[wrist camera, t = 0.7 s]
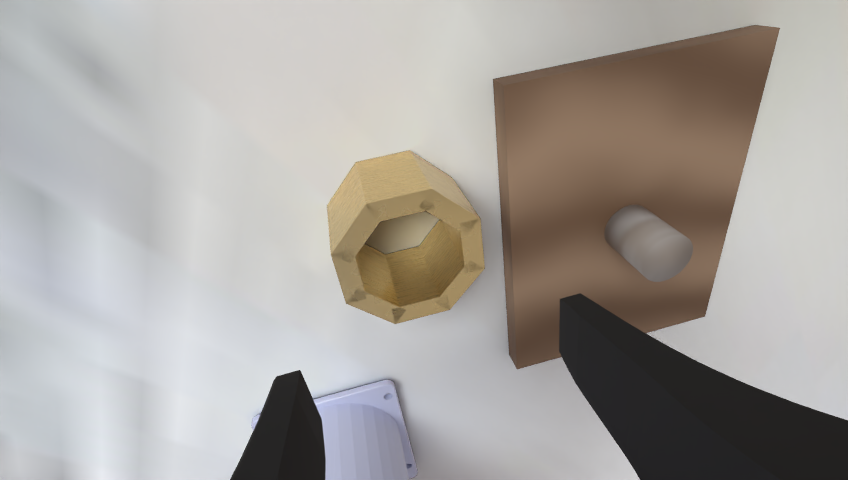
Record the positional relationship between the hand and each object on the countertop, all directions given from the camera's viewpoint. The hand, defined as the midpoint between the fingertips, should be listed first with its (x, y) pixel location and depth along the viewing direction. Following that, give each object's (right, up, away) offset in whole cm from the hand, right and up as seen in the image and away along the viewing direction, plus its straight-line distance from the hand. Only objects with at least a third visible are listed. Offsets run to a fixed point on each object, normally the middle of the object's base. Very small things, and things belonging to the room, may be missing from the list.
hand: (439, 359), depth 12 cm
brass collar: (-2, +4, +8) cm, 9 cm away
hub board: (+9, +5, +11) cm, 15 cm away
